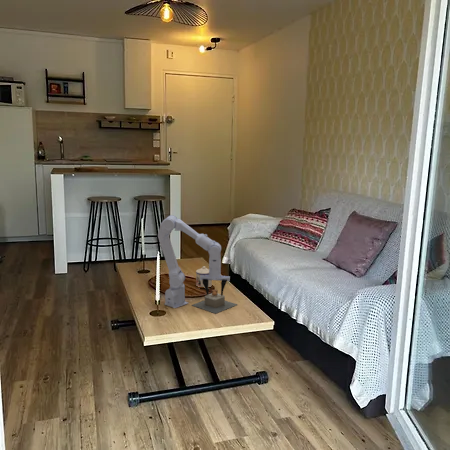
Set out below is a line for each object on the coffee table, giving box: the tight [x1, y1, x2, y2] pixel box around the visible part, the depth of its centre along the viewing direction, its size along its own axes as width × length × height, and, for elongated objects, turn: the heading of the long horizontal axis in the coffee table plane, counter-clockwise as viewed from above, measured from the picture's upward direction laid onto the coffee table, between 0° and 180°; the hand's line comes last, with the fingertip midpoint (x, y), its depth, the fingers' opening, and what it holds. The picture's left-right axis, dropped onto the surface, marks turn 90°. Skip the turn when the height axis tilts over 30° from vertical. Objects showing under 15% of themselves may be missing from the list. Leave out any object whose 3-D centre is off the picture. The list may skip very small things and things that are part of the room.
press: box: [191, 292, 238, 315], centre depth 224 cm, size 16×16×5 cm
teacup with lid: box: [195, 266, 213, 288], centre depth 251 cm, size 12×9×12 cm
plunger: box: [211, 289, 219, 297], centre depth 224 cm, size 5×5×6 cm
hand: (214, 294), depth 224 cm, fingers open, 6 cm apart
